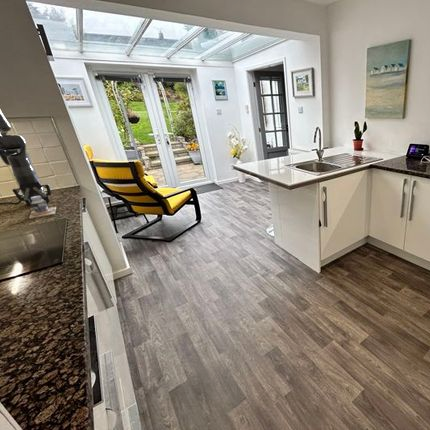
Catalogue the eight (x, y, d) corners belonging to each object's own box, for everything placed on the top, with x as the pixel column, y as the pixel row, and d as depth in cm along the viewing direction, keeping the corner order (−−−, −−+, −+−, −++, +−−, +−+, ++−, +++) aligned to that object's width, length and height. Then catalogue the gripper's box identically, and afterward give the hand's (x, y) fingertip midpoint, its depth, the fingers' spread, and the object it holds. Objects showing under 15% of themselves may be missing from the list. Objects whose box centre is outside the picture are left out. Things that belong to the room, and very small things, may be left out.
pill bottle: (33, 213, 144) (26, 197, 141) (45, 209, 148) (38, 195, 145) (39, 214, 142) (32, 198, 139) (51, 210, 147) (44, 195, 143)
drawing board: (32, 211, 148) (31, 210, 148) (56, 207, 154) (55, 206, 154) (29, 219, 137) (28, 218, 137) (55, 214, 143) (54, 213, 143)
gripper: (44, 171, 144) (57, 200, 151) (6, 176, 136) (21, 206, 142) (43, 173, 139) (56, 203, 145) (3, 178, 130) (19, 209, 137)
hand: (39, 204), depth 144 cm, fingers open, 6 cm apart
